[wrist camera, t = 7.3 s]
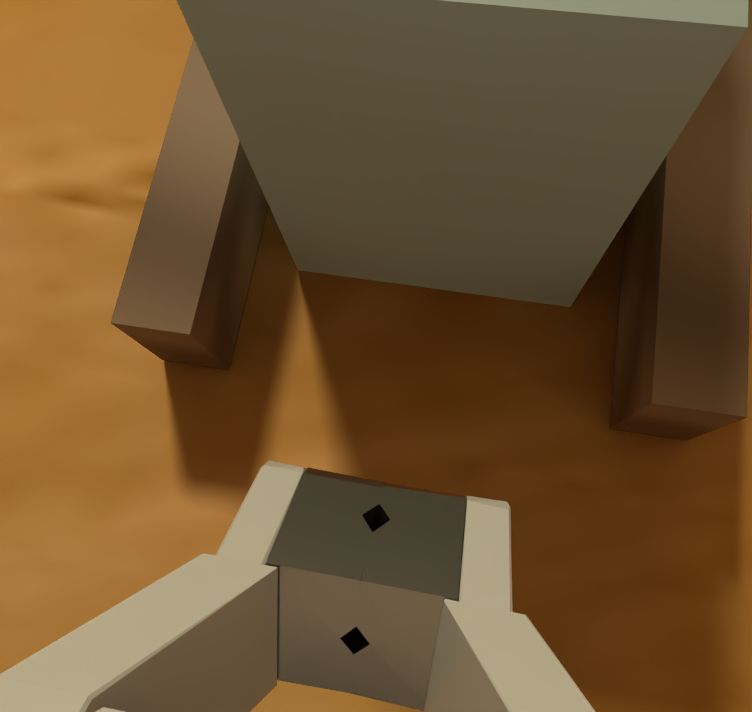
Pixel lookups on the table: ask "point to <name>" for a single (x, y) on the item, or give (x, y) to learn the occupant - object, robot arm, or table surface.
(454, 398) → the table surface
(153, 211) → the chute
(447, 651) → the robot arm
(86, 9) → the table surface
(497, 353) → the table surface
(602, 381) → the table surface
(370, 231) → the block
